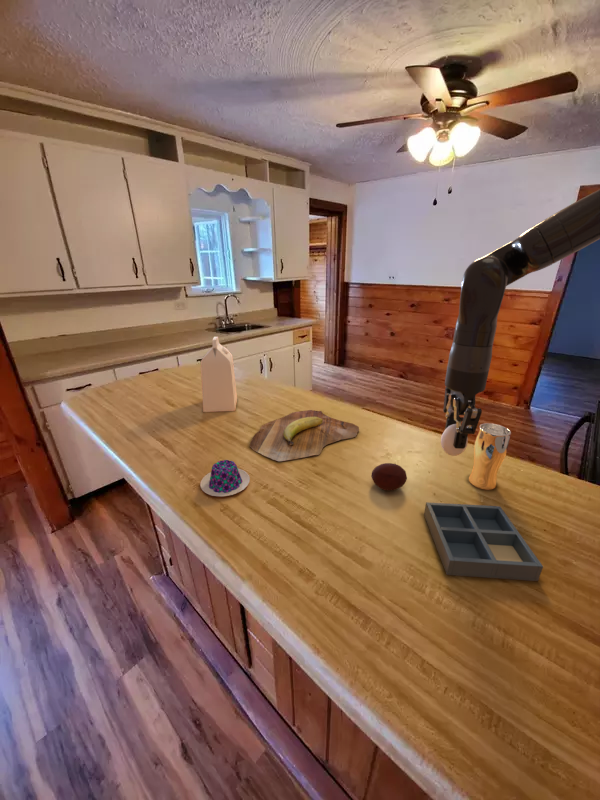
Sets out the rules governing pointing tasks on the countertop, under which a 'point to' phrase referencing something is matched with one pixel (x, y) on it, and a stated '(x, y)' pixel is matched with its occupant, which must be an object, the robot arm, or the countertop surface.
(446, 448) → the egg
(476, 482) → the beer glass
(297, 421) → the cutting board
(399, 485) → the potato
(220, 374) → the milk
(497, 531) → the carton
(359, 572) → the countertop surface
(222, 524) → the countertop surface
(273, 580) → the countertop surface
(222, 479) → the pudding
